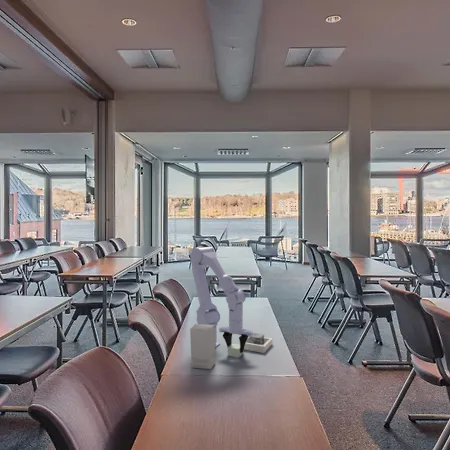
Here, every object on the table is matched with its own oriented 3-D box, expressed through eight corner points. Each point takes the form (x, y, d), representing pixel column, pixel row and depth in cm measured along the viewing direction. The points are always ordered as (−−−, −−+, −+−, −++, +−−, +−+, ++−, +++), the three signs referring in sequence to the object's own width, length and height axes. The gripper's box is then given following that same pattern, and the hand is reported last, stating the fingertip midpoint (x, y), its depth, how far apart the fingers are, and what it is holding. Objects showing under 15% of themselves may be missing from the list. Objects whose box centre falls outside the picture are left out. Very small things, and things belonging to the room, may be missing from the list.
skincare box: (215, 363, 149) (215, 324, 148) (210, 370, 143) (210, 329, 142) (195, 361, 151) (195, 322, 151) (189, 367, 145) (189, 327, 144)
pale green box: (238, 357, 155) (238, 349, 155) (227, 355, 157) (227, 347, 157) (243, 353, 160) (243, 345, 160) (232, 351, 162) (232, 343, 162)
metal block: (260, 348, 164) (260, 338, 164) (249, 346, 166) (249, 336, 166) (264, 344, 168) (264, 334, 168) (253, 342, 171) (253, 333, 170)
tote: (264, 353, 160) (264, 346, 160) (240, 348, 165) (240, 342, 164) (272, 344, 170) (272, 338, 170) (249, 340, 175) (249, 334, 174)
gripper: (255, 318, 158) (255, 350, 159) (224, 314, 165) (224, 345, 165) (249, 323, 152) (249, 356, 153) (217, 318, 158) (217, 350, 159)
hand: (235, 350), depth 158 cm, fingers closed on pale green box, 5 cm apart
